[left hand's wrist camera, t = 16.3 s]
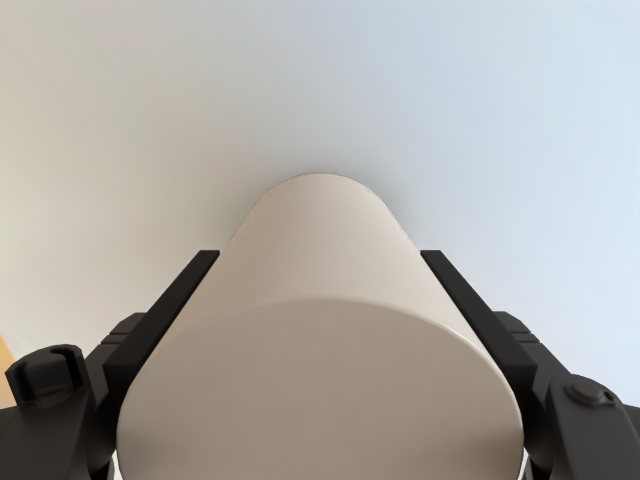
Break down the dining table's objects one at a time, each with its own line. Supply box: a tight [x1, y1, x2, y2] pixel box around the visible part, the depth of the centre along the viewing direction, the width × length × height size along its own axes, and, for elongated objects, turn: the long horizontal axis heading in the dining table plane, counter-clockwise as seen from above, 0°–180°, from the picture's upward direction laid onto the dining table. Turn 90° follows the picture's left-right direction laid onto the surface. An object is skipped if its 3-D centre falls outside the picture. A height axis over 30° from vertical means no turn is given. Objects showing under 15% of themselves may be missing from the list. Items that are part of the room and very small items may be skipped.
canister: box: [116, 173, 524, 480], centre depth 12 cm, size 8×8×11 cm
